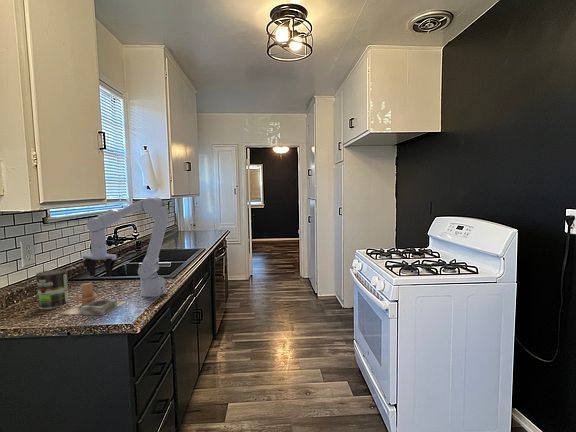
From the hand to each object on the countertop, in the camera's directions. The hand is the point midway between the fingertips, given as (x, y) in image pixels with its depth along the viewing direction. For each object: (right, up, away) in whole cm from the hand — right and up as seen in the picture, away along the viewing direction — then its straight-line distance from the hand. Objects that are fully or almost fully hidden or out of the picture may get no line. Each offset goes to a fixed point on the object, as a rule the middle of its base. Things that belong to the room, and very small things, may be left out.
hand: (100, 275), depth 139 cm
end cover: (+1, -10, -10) cm, 14 cm away
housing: (+5, -11, -13) cm, 18 cm away
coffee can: (-17, -12, -5) cm, 21 cm away
